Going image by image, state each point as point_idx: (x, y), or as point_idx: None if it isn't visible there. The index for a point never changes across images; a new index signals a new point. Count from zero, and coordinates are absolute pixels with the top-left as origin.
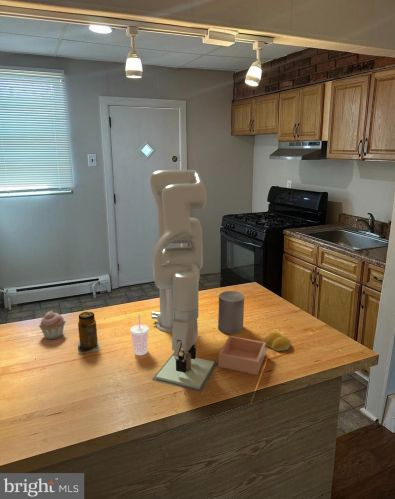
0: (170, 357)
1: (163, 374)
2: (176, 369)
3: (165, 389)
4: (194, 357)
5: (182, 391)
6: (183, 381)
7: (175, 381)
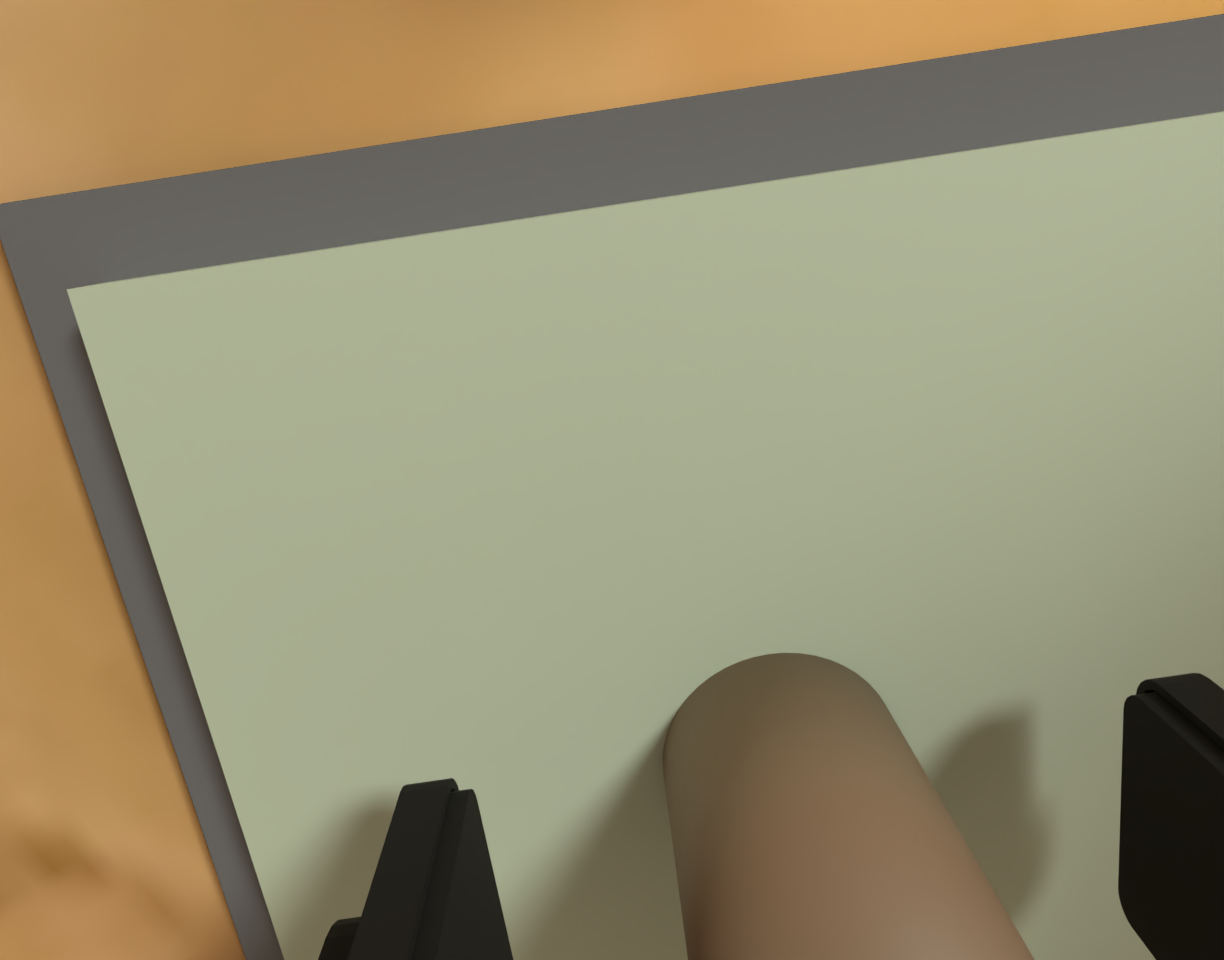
0: (1176, 40)
1: (269, 419)
2: (402, 811)
3: (7, 659)
4: (1154, 946)
5: (180, 939)
6: (324, 935)
7: (233, 794)
